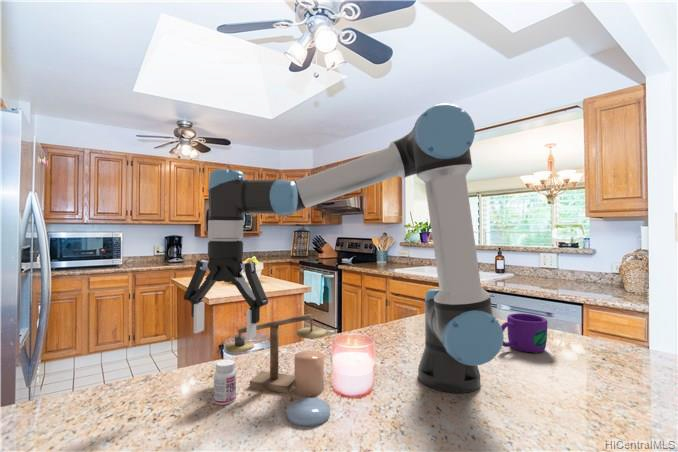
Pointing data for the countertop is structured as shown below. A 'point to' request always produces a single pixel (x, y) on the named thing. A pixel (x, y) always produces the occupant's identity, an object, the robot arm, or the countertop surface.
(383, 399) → the countertop surface
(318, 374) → the tan upright cylinder
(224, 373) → the pill bottle
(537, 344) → the mug
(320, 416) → the grey smooth pebble
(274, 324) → the balance
